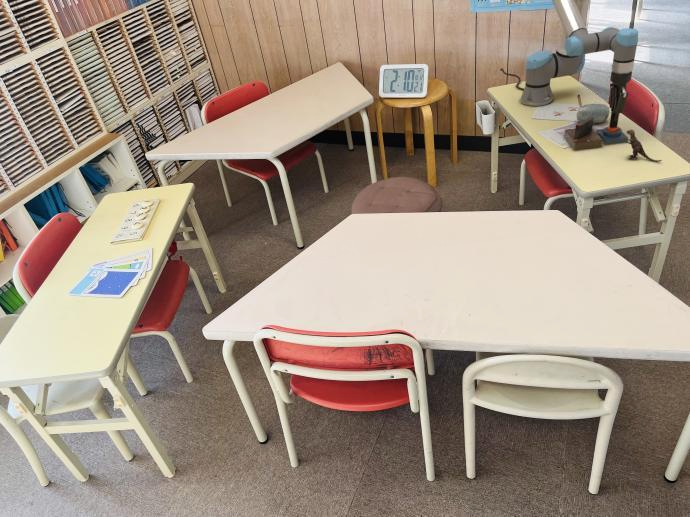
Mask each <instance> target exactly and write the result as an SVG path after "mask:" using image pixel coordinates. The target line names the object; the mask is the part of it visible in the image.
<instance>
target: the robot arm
mask: <svg viewBox="0 0 690 517" xmlns="http://www.w3.org/2000/svg"><path fill="white" fill-rule="evenodd" d="M589 1H590V0H551V2H552V3H553V6H554V8H555V11H556V13H557V15H558V18H559V21H560V23H561V25H562V36H561V41H560V44H559V45H558V46H557V47H556V49H555V52H552V51H551V50H538V51H536V52H533V53H531V54H530V55H528V57H527V58H526V64H525V83H524V84H525V85H524V88H523V87H521V86H519V84H520V83H521V81H522V80H521V77H520V76H519V75H517V74H513V73H508V72H505V70H504V68H500V69H499V71H500V72H502V73H503V74H504V75H506V76H510V77H515V78H517V79H518V81H517V83H516V84H517V85H516V84H515V87H516V88H517V89H518V90H521V91H522V93H521V96H520V103H521V104H523V105H525V106H529V107H542V106H546V105H548V104H550V103H552V102H553V92H552V91H553V90H552V88H551V79H556V78H562V77H567V76H569V77H571V76H574V75H577V74H580V73H581V72H582V70H583V69H584V67H585V62H586V55H588V54H593V53H594V54H595V53H599V52H600V53H601V52H605V51H611V52H613V57H612V64H611V72H610V79H609V81H610V82H611V83H610V84H609V106H608V107H609V109H610V119H609V125H608V126H609V127H610V128H613V127H617V126H618V124H619V117H620V114H623V112H624V108H625V105H626V102H627V99H628V96H629V92H627V91H626V90H627V84H628V83H630V82H631V80H632V77H633V70H634V64H635V59H636V53H637V47H638V43H639V30H638V29H636V28H632V27H630V28H629V27H628V28H627V27H626V28H622V29H619V28H617V27H613V26H608V27H605V28H604V29H602V30H601V31H597V32H591V33H589V31H588V28H587V26H586V23H585V21H586V17H587V12H588V7H589Z"/></svg>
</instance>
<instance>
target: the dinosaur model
mask: <svg viewBox="0 0 690 517" xmlns="http://www.w3.org/2000/svg"><path fill="white" fill-rule="evenodd" d="M626 134H627V135H629V137H630V138H628V139H627V140H628V141H626V144H628V145H630V147H631V149H632V154H631V155H629V157H628V160H629V161H630V160H634V159H637V157H638V156H639V155H641V156H642V157H643V158H645V159H646V160H648V161H651V162H656V163H658V162H662V161H663V160H662V159H658V160H656V159H653V158H651V157H650V156H648V155H647V153H646V152H645V149H644V148H643V144H642V143H641V141H639V139H638V138H637V137H636V134H635V130H634V129H629V130H627V131H626Z"/></svg>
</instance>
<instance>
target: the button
mask: <svg viewBox="0 0 690 517" xmlns="http://www.w3.org/2000/svg"><path fill="white" fill-rule="evenodd" d="M607 127H608V129H607V131H609V132H617V131H618V127H619V126H618V125H617V127H613V128H610V127H609V125H608V126H607Z"/></svg>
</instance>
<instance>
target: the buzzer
mask: <svg viewBox="0 0 690 517" xmlns="http://www.w3.org/2000/svg"><path fill="white" fill-rule="evenodd" d="M607 129H608V126H606V127H604V128H600V129H596V130H595V132H596V133H597V132H601V133H597V134H598V135H599V136H600V138H601V139H602V144H603V145H605V146H609V145H610V146H611V145H616V144H617V145H619V144H624V143H625V144H627V142H629V140H627V139H629V137H628V135H626V134H625V133H624V131H622V130H623V129H622V128H621V127H619V126H618V131H617V132H609V131H607ZM626 141H627V142H626Z"/></svg>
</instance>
